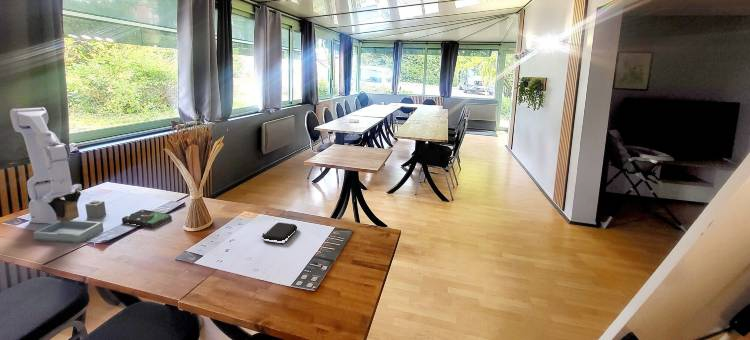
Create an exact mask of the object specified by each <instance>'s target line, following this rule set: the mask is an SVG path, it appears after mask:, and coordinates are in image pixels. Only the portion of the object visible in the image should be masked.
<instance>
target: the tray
mask: <svg viewBox="0 0 750 340" xmlns="http://www.w3.org/2000/svg"><path fill="white" fill-rule="evenodd" d="M102 229H103V230H104V226H103V222H102V221H91V220H90V221H89V220H76V219H73V220H71V221H57V222H55V223H53V224H49V225H47V226H45V227H43V228H40V229H38V230H36V231H34V232H33V237H34V241H39V242H51V243H53V242H54V243H64V244H66V243H67V244H76V245H77V244H81V243H82V242H84V241H86V240H87V239H86V238H88V237H89V238H91V237H92V236H91V235H93V234H95V233H96V234H98V233H100V232H101V231H100V230H102ZM103 230H102V231H103ZM99 231H100V232H99ZM97 232H98V233H97ZM96 234H95V235H96ZM90 236H91V237H90ZM93 236H94V235H93ZM89 238H88V239H89ZM85 239H86V240H85Z"/></svg>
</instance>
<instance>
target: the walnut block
mask: <svg viewBox="0 0 750 340" xmlns="http://www.w3.org/2000/svg"><path fill="white" fill-rule="evenodd" d="M64 211H65V217H63V218H61V217H57V215H56V218H57V221H71V220H76V219H77V218H79V217H80V214H79V209H78V202H76V201H65V205H64Z"/></svg>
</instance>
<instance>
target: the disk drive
mask: <svg viewBox="0 0 750 340" xmlns="http://www.w3.org/2000/svg"><path fill="white" fill-rule="evenodd" d="M172 217H173V216H172V215H171V214H169V213H165V212H159V211H153V210H148V209H140V210H138V211H136V212H133V213H131V214H130V215H129V216H128V215H126V216H124V217H122V218H121V222H122V224H125V223H129V224H128V225H130V224H136V225H140V226H139V227H142V228H147V229H155V228H157V227H159V226H162V225H163V224H165V223H167V222H170V221H171V220H172V219H173V218H172Z"/></svg>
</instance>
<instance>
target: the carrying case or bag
mask: <svg viewBox="0 0 750 340" xmlns="http://www.w3.org/2000/svg"><path fill="white" fill-rule="evenodd" d="M297 227H298V226H297V225H296V224H294V223H287V222H277V223H276V224H274V225H273V226H272V227H271V228H270V229H268V230H267V231H266V233H265V232H264V233H263V234H262V235H261V238H262V237H263V238H264V239H269V240H277V241H282V240H285V239H286V238H288V236H290V235H291V234H292V233H293V232H294V231H295V230H296V229H297ZM297 230H298V229H297ZM297 230H296V231H297Z"/></svg>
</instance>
